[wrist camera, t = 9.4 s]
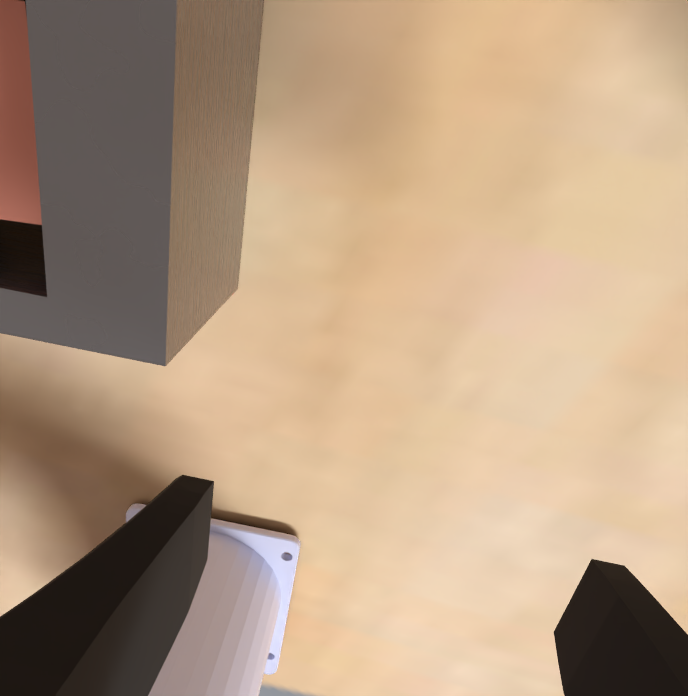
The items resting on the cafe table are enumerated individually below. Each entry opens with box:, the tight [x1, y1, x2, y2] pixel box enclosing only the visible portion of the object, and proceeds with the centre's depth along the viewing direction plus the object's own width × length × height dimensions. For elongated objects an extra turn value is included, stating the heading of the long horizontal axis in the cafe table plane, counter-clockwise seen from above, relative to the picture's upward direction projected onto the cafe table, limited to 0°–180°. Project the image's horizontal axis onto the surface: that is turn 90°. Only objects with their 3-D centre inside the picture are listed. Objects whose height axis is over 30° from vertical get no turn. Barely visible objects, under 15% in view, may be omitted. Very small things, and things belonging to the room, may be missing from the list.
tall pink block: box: [0, 0, 42, 225], centre depth 15 cm, size 5×2×5 cm, turn 173°
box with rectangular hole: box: [0, 0, 264, 366], centre depth 14 cm, size 10×10×6 cm
